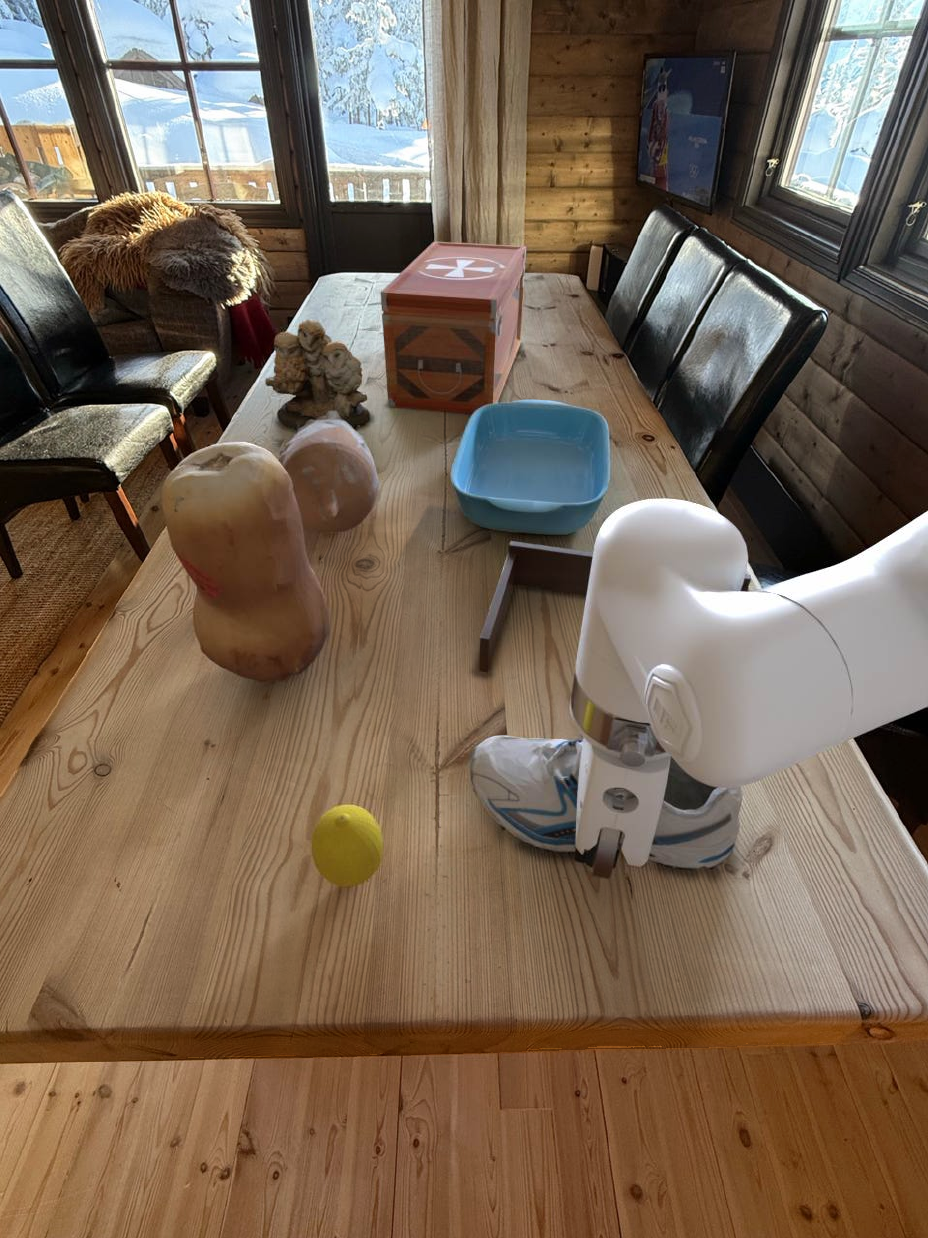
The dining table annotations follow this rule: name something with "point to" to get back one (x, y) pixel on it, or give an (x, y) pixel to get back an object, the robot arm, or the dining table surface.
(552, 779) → the athletic shoe
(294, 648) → the butternut squash
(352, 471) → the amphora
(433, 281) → the wooden box
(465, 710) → the dining table surface
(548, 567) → the shoe rack
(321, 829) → the lemon
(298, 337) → the owl figurine
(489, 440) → the casserole dish
